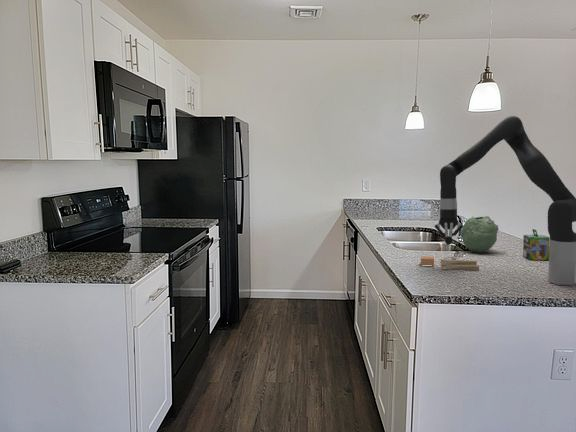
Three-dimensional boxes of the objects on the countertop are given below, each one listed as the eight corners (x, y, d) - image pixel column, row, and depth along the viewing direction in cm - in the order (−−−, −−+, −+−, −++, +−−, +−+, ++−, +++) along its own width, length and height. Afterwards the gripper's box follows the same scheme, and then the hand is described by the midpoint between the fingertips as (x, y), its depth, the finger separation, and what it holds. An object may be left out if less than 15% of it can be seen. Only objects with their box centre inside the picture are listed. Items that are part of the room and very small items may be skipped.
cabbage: (463, 248, 237) (463, 213, 235) (499, 251, 227) (500, 214, 224) (457, 253, 224) (457, 217, 222) (495, 256, 214) (496, 218, 211)
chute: (478, 270, 187) (479, 266, 187) (441, 269, 192) (441, 264, 192) (476, 264, 198) (476, 260, 198) (440, 263, 204) (440, 259, 204)
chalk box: (549, 260, 201) (550, 230, 200) (528, 260, 203) (529, 230, 202) (542, 256, 210) (543, 228, 209) (522, 256, 212) (523, 228, 210)
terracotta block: (433, 267, 197) (434, 259, 197) (420, 266, 199) (420, 258, 199) (433, 264, 203) (433, 256, 202) (420, 263, 205) (420, 256, 204)
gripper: (433, 208, 192) (433, 245, 194) (464, 208, 188) (464, 246, 189) (433, 207, 199) (433, 243, 201) (462, 207, 195) (463, 243, 197)
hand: (448, 244), depth 195 cm, fingers closed
